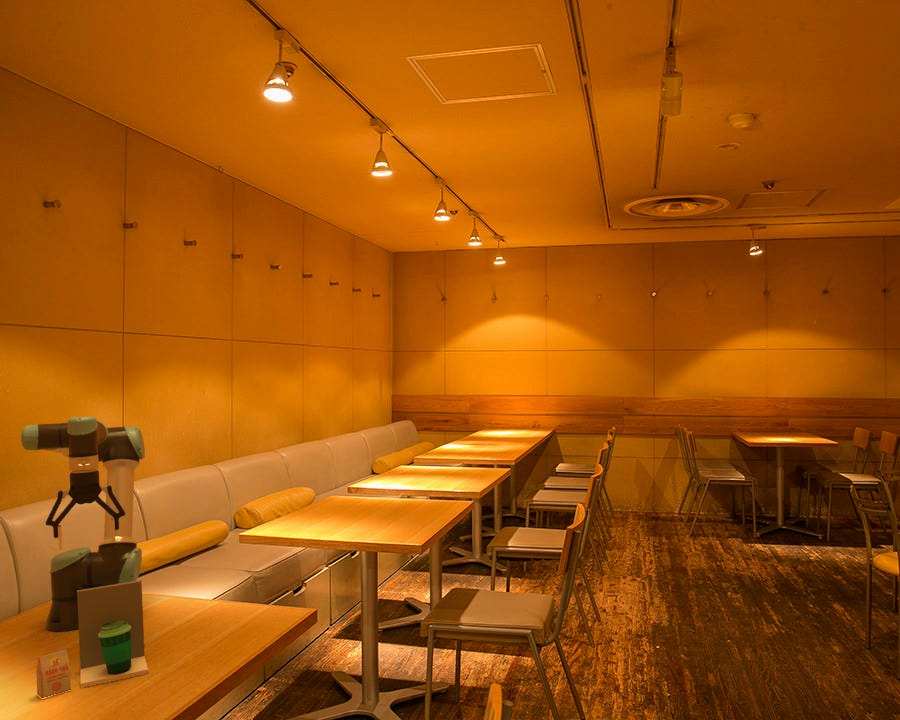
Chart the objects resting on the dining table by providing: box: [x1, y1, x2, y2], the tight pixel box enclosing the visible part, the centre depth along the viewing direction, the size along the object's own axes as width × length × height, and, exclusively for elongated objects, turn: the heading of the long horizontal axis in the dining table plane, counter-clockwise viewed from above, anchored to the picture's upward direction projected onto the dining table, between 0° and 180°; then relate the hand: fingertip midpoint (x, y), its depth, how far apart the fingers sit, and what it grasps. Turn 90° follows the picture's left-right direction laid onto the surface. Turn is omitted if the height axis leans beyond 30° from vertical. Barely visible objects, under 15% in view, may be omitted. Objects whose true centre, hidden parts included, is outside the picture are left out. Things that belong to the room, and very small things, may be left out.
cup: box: [98, 621, 132, 675], centre depth 195 cm, size 8×8×12 cm
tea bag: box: [35, 649, 72, 698], centre depth 185 cm, size 4×7×10 cm, turn 134°
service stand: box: [77, 580, 149, 689], centre depth 196 cm, size 12×16×22 cm
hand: (87, 545), depth 208 cm, fingers open, 13 cm apart
